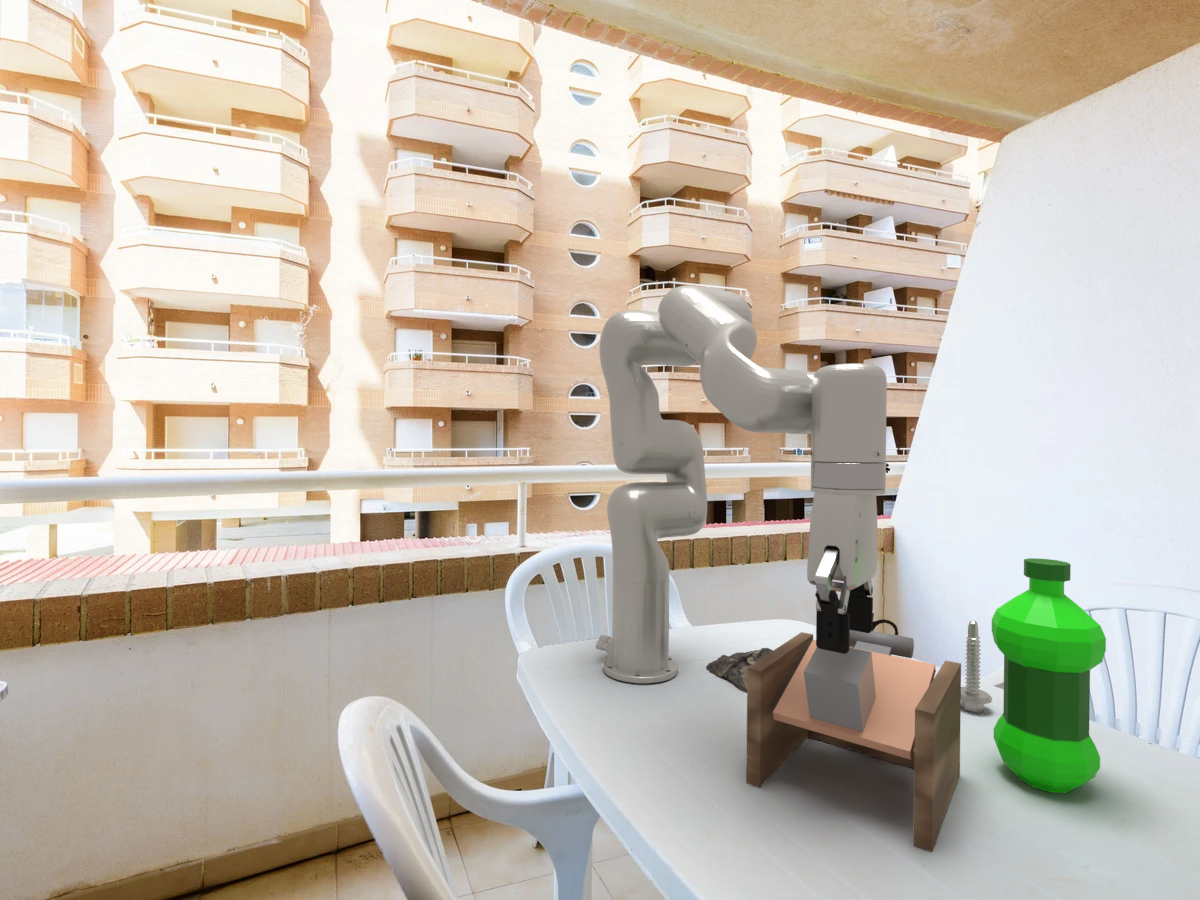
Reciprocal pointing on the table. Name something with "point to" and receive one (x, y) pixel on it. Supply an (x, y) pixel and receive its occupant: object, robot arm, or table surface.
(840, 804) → the table surface
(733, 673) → the rock specimen
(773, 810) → the table surface
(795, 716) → the trapdoor
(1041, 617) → the plastic bottle
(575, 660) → the table surface
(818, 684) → the grey cube
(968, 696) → the screw
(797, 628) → the table surface
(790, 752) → the wooden bench
